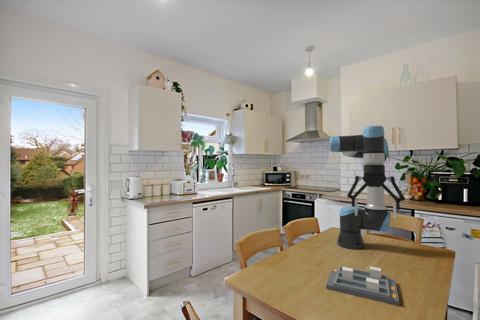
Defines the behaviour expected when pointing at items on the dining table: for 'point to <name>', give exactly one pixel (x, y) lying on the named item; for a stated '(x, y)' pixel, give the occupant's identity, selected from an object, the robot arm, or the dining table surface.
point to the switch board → (363, 286)
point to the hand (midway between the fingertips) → (374, 216)
